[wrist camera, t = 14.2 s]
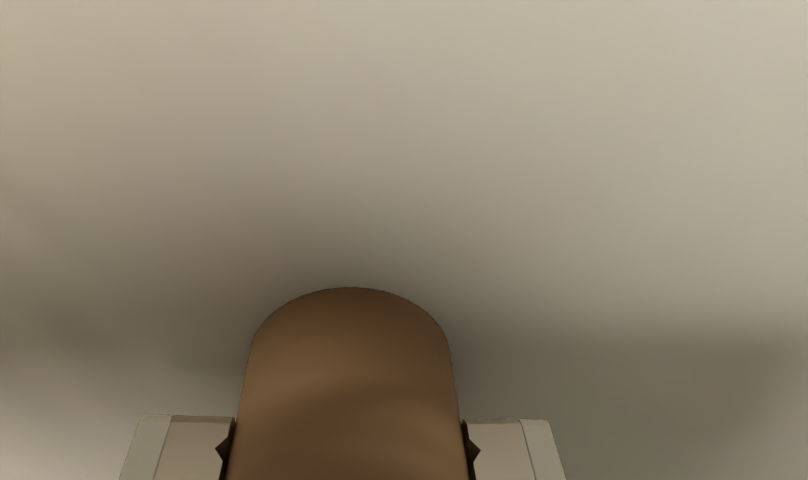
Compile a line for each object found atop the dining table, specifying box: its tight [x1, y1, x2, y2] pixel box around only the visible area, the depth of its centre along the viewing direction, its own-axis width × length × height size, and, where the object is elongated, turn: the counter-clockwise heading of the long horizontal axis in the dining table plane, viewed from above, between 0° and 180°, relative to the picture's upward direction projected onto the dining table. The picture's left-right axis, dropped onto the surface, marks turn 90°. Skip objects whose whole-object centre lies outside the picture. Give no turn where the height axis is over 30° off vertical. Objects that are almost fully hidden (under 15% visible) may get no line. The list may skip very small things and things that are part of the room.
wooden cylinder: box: [225, 287, 470, 480], centre depth 11 cm, size 4×4×4 cm
